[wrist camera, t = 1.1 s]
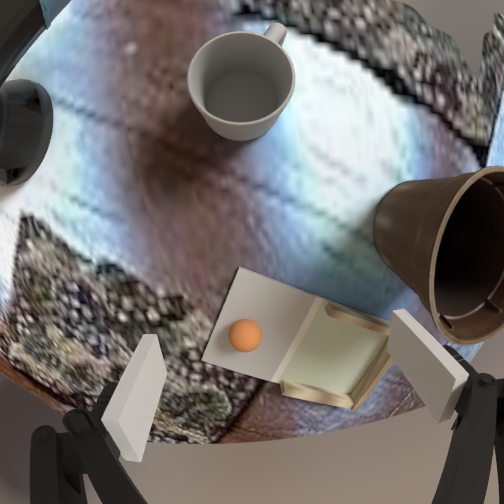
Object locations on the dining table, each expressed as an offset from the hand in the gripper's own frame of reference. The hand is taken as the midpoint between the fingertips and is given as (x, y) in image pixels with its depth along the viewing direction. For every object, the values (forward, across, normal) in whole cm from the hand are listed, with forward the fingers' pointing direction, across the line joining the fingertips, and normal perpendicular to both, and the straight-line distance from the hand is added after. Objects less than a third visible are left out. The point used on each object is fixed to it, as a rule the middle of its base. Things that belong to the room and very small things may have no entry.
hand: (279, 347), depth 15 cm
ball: (+17, -2, -10) cm, 20 cm away
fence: (+20, +10, -16) cm, 28 cm away
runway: (+20, +5, -14) cm, 25 cm away
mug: (+20, 0, +18) cm, 27 cm away
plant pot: (+20, +20, +1) cm, 28 cm away
